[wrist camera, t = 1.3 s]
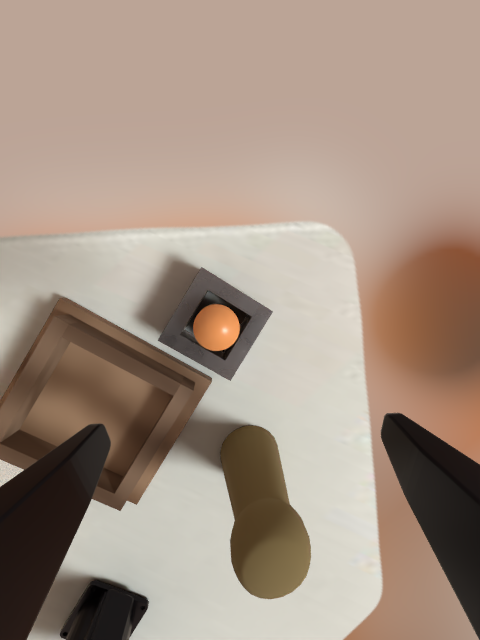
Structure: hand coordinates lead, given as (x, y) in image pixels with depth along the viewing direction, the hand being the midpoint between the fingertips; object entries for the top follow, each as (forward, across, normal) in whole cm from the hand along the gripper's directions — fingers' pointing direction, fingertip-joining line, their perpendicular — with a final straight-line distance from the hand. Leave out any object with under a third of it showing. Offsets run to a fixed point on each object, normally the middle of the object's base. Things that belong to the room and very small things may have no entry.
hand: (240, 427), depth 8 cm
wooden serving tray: (+12, +14, +9) cm, 20 cm away
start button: (+14, +3, +2) cm, 14 cm away
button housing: (+15, +3, +3) cm, 16 cm away
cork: (+12, +1, +16) cm, 20 cm away
